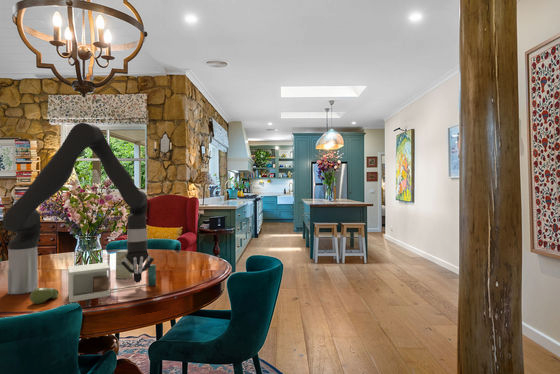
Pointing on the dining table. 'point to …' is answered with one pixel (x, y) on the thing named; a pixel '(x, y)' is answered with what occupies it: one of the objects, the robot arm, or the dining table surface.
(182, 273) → the dining table surface
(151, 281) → the block with cord
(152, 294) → the dining table surface
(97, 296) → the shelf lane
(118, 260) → the skincare box
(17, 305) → the dining table surface
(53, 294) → the pear
